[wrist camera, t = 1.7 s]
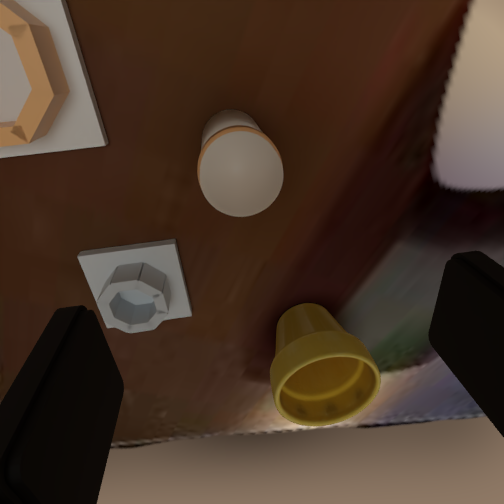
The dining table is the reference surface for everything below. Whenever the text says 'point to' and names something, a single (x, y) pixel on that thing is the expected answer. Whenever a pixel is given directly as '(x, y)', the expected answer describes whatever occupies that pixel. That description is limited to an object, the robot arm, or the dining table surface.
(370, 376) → the plant pot
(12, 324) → the dining table surface
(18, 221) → the dining table surface
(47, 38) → the wide socket
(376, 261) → the dining table surface
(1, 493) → the robot arm
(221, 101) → the dining table surface
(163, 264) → the narrow socket
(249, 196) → the beige peg
